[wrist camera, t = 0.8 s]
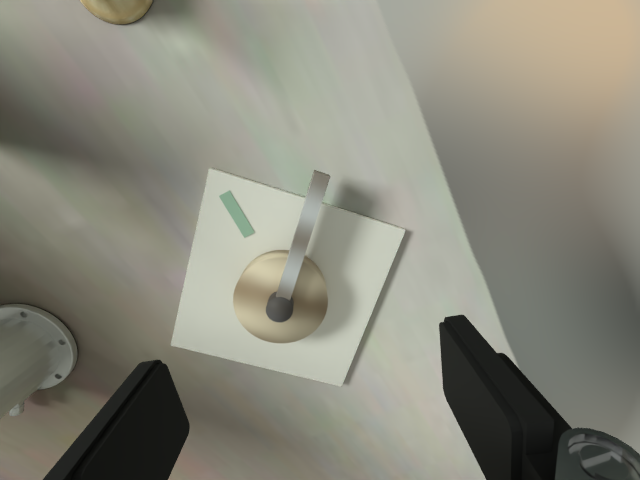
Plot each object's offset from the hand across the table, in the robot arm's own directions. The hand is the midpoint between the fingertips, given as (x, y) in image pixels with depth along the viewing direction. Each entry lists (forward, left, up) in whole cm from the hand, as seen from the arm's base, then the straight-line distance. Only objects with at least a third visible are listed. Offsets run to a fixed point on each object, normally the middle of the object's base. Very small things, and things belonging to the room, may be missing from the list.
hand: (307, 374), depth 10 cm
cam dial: (-5, 0, -26) cm, 27 cm away
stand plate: (-10, 0, -28) cm, 30 cm away
